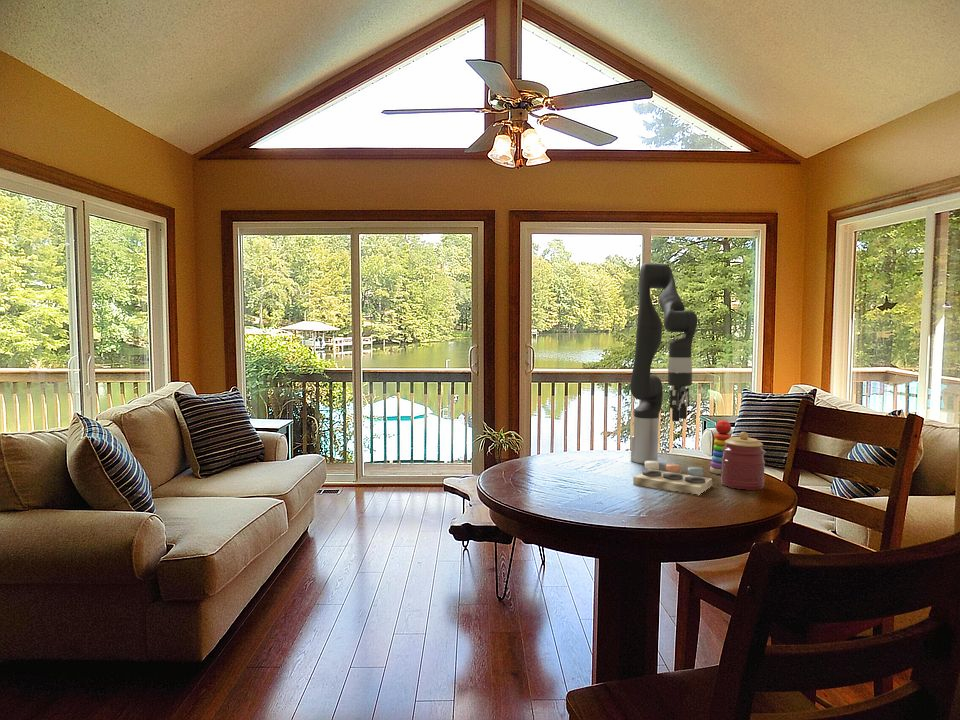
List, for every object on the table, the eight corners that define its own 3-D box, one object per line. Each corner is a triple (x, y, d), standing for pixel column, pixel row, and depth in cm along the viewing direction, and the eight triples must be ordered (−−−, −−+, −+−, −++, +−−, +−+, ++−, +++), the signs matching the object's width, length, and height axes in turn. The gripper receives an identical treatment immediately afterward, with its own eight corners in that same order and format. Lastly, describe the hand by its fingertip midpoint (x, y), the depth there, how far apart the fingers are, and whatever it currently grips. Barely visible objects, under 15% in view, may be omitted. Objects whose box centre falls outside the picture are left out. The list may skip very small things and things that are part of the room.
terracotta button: (663, 471, 189) (663, 465, 189) (668, 468, 193) (668, 462, 193) (677, 473, 186) (678, 467, 186) (682, 471, 190) (682, 464, 190)
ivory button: (642, 468, 193) (642, 462, 193) (647, 465, 197) (647, 460, 197) (656, 470, 190) (656, 464, 190) (661, 467, 194) (661, 461, 194)
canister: (745, 480, 198) (746, 428, 198) (773, 489, 186) (775, 434, 185) (712, 482, 195) (713, 429, 194) (738, 492, 182) (740, 435, 182)
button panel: (633, 484, 190) (633, 474, 190) (648, 476, 202) (648, 466, 201) (699, 495, 178) (700, 484, 178) (712, 486, 189) (712, 476, 189)
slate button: (685, 474, 185) (685, 468, 185) (689, 472, 189) (690, 466, 188) (700, 477, 182) (700, 470, 182) (704, 474, 186) (704, 468, 186)
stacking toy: (737, 475, 204) (739, 422, 204) (714, 475, 204) (716, 421, 204) (728, 470, 212) (730, 418, 211) (706, 470, 212) (707, 418, 212)
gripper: (674, 370, 202) (674, 417, 202) (662, 371, 190) (661, 421, 191) (697, 370, 198) (696, 418, 198) (685, 372, 186) (685, 423, 186)
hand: (679, 420), depth 194 cm, fingers open, 8 cm apart
